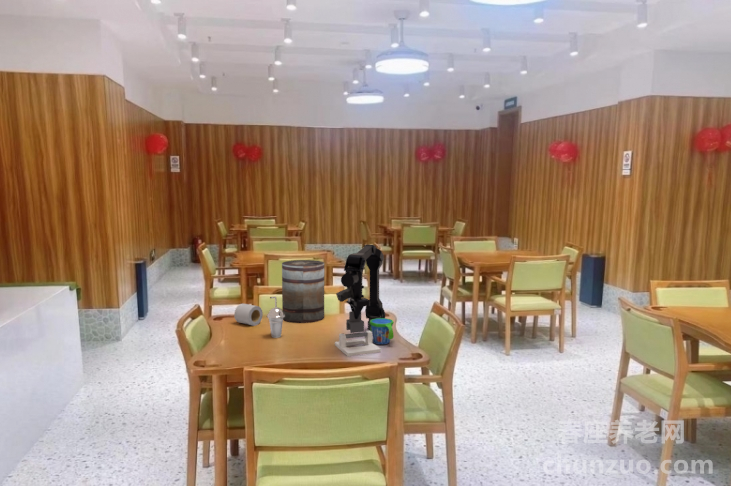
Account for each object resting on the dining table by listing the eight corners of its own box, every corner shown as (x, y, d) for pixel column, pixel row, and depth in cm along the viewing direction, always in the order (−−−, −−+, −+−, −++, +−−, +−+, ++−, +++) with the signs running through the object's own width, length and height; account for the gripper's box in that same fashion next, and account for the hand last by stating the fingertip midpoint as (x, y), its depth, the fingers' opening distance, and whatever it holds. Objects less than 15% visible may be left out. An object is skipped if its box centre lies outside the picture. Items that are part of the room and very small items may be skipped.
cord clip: (358, 328, 221) (359, 309, 220) (364, 331, 216) (364, 312, 215) (346, 329, 219) (346, 310, 218) (351, 333, 213) (351, 313, 212)
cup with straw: (289, 336, 234) (288, 294, 231) (273, 340, 227) (272, 297, 225) (278, 332, 239) (277, 292, 237) (262, 336, 233) (261, 294, 231)
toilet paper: (262, 323, 256) (262, 304, 255) (248, 327, 248) (248, 308, 247) (248, 320, 262) (248, 301, 261) (234, 324, 253) (234, 305, 252)
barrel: (323, 312, 280) (323, 259, 277) (325, 322, 258) (325, 266, 255) (283, 313, 278) (282, 260, 274) (281, 323, 255) (280, 266, 252)
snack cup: (363, 339, 230) (363, 317, 229) (383, 336, 235) (383, 315, 234) (379, 349, 216) (379, 326, 215) (400, 345, 221) (400, 323, 220)
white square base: (365, 341, 227) (365, 327, 226) (380, 352, 212) (380, 337, 211) (334, 345, 221) (334, 330, 220) (347, 356, 206) (348, 341, 205)
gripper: (331, 280, 221) (331, 314, 222) (345, 288, 203) (345, 325, 205) (354, 279, 225) (354, 312, 226) (370, 286, 208) (370, 322, 209)
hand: (355, 318), depth 217 cm, fingers closed on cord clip
